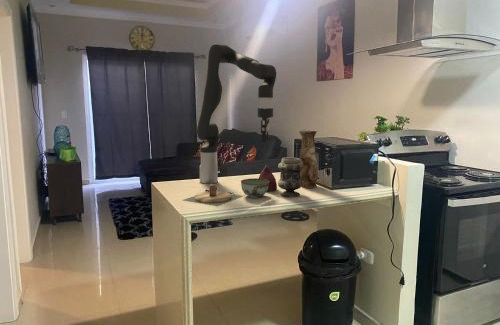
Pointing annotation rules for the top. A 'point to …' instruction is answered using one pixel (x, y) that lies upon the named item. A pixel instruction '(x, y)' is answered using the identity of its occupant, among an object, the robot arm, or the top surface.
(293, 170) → the apothecary jar
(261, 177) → the vegetable
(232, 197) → the mat
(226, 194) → the lid
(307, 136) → the vase
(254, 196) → the bowl
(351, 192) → the top surface
